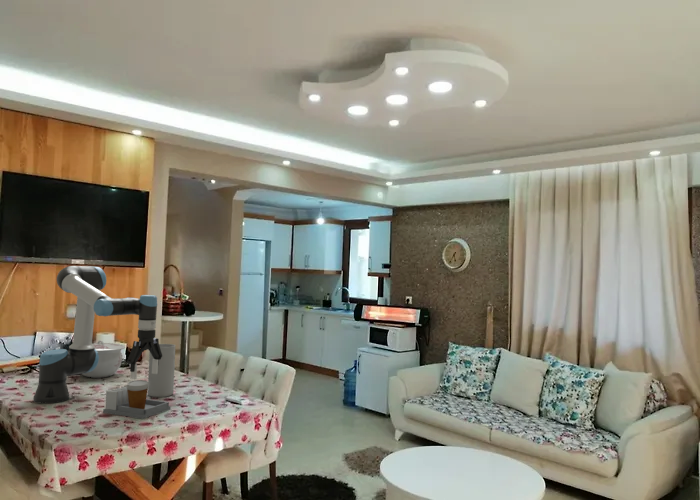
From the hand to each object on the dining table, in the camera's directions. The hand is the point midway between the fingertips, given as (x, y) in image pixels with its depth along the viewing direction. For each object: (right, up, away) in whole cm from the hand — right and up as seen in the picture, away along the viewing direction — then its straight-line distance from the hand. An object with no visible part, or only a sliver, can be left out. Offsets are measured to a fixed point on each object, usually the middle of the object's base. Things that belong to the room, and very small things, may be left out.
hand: (144, 376), depth 245 cm
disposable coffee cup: (-2, -14, -4) cm, 15 cm away
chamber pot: (-55, -17, +74) cm, 94 cm away
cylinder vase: (-4, -17, +33) cm, 37 cm away
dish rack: (-3, -16, 0) cm, 16 cm away
